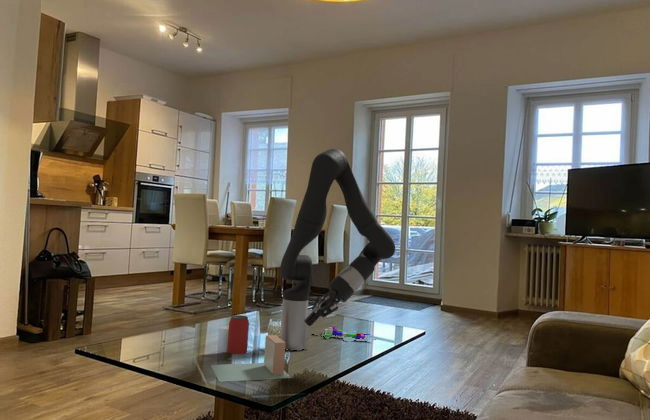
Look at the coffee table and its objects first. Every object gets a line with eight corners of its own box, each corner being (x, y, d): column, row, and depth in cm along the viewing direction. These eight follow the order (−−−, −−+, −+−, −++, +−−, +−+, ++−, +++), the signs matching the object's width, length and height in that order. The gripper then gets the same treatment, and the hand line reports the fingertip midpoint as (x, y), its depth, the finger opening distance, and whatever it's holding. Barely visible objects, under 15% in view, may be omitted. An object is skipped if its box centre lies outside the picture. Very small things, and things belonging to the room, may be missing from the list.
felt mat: (275, 364, 146) (275, 362, 146) (291, 380, 131) (291, 377, 131) (209, 367, 138) (210, 365, 138) (219, 383, 123) (219, 381, 123)
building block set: (381, 337, 200) (381, 326, 200) (368, 346, 181) (369, 334, 181) (326, 329, 209) (326, 319, 209) (308, 338, 190) (309, 326, 190)
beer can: (229, 356, 152) (232, 318, 152) (224, 351, 158) (227, 315, 158) (249, 355, 155) (252, 318, 155) (243, 350, 161) (245, 314, 161)
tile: (273, 365, 142) (275, 335, 143) (283, 374, 133) (285, 342, 134) (263, 365, 141) (265, 335, 142) (272, 375, 132) (274, 342, 132)
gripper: (330, 273, 152) (292, 311, 147) (347, 276, 140) (306, 318, 134) (344, 290, 154) (307, 328, 148) (362, 295, 141) (322, 337, 136)
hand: (306, 323), depth 141 cm, fingers closed
